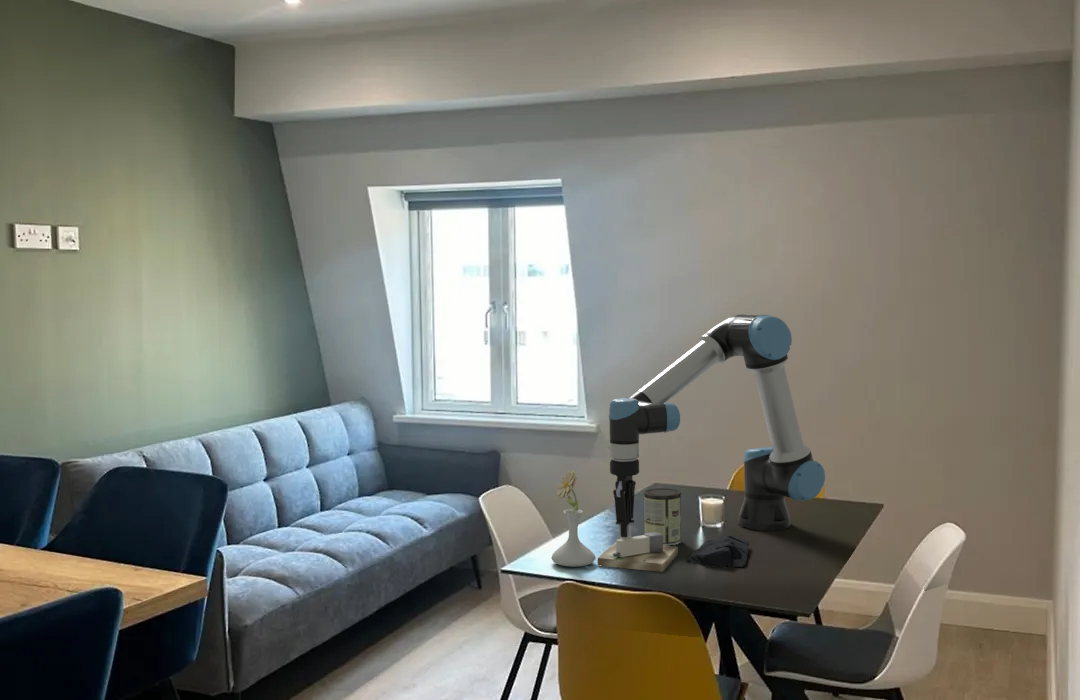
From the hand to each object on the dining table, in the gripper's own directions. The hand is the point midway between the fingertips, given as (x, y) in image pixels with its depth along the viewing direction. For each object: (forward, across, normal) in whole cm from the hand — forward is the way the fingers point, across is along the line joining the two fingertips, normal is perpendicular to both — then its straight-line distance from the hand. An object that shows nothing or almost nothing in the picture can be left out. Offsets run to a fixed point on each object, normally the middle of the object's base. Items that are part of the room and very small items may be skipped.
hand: (625, 548), depth 259 cm
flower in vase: (+3, +8, -11) cm, 15 cm away
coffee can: (+4, -22, +4) cm, 22 cm away
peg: (+1, 0, +4) cm, 4 cm away
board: (+3, -2, +3) cm, 5 cm away
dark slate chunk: (+4, -13, +23) cm, 26 cm away
